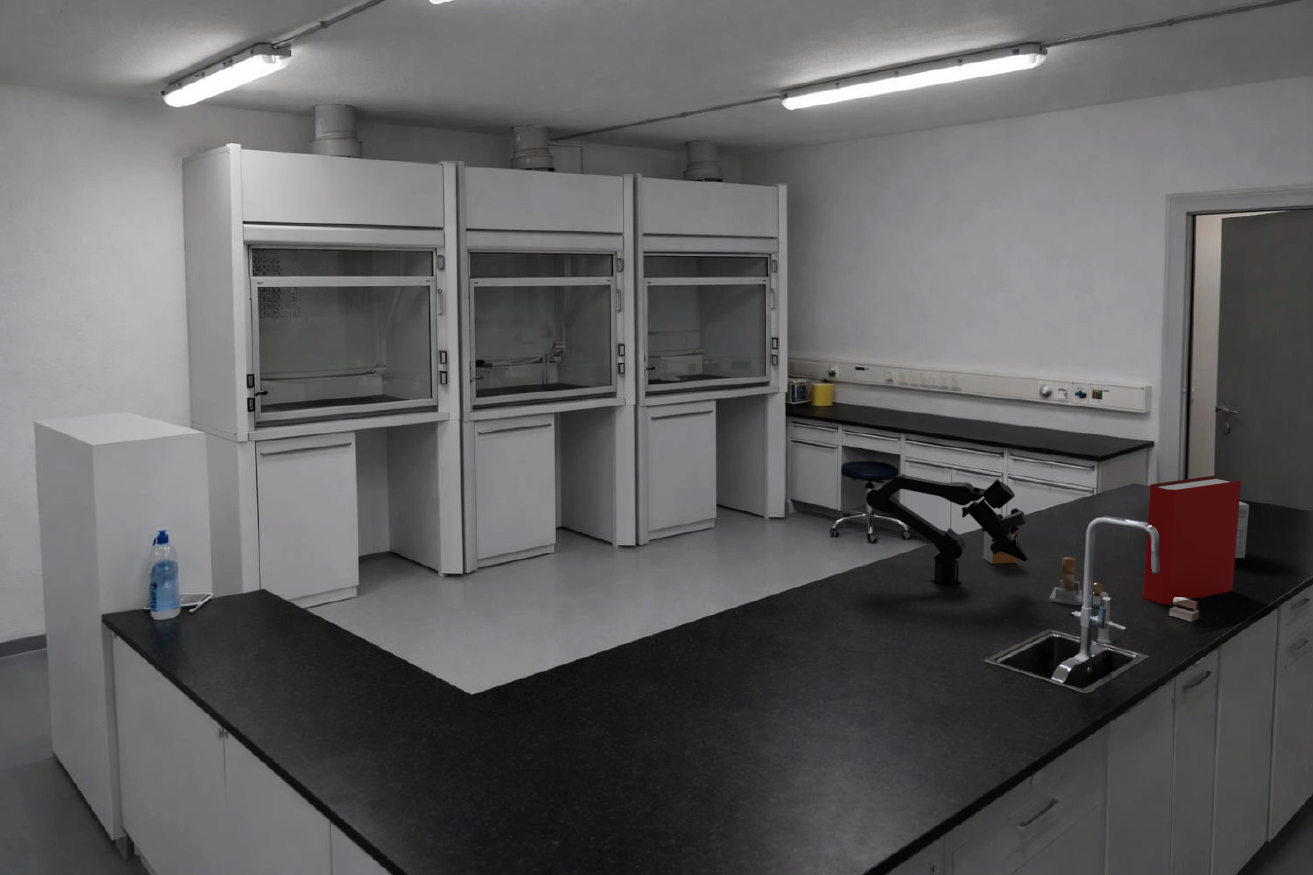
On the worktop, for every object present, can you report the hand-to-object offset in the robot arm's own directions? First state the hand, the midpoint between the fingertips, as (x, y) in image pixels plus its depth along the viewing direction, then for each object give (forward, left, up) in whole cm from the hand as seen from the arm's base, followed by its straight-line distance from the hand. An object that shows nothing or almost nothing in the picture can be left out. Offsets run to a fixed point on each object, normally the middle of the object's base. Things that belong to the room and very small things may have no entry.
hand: (1026, 560), depth 286 cm
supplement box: (+82, -2, -9) cm, 83 cm away
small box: (+17, +26, -9) cm, 32 cm away
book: (+37, -24, -9) cm, 45 cm away
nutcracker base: (+7, -13, -9) cm, 17 cm away
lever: (+5, -10, -7) cm, 13 cm away
